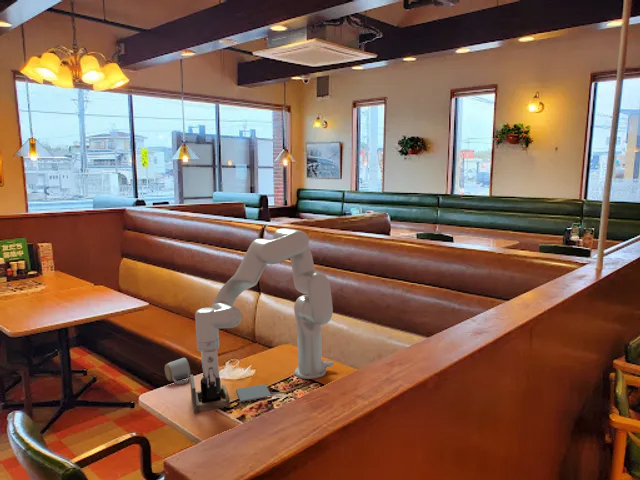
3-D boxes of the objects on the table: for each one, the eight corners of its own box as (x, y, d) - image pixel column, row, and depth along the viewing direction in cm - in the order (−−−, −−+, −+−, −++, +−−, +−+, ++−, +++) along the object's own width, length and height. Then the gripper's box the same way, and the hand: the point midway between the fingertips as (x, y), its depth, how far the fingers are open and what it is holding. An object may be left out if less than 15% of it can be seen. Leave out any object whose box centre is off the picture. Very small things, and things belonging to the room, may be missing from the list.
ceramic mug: (164, 378, 188) (162, 360, 187) (184, 373, 193) (182, 355, 192) (173, 387, 179) (172, 368, 178) (194, 381, 184) (193, 363, 183)
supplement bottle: (216, 408, 162) (214, 374, 160) (198, 406, 163) (196, 373, 162) (224, 398, 169) (222, 366, 167) (206, 397, 170) (204, 365, 168)
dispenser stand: (225, 392, 173) (224, 369, 172) (230, 407, 162) (228, 382, 161) (191, 398, 169) (189, 374, 168) (193, 414, 158) (192, 388, 157)
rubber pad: (265, 386, 178) (265, 384, 178) (271, 397, 169) (271, 395, 169) (236, 391, 175) (236, 389, 174) (240, 402, 165) (240, 400, 165)
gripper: (222, 350, 156) (225, 401, 158) (216, 334, 172) (218, 381, 175) (199, 354, 154) (202, 405, 156) (195, 337, 170) (198, 384, 172)
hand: (211, 392), depth 165 cm, fingers closed on supplement bottle, 6 cm apart
